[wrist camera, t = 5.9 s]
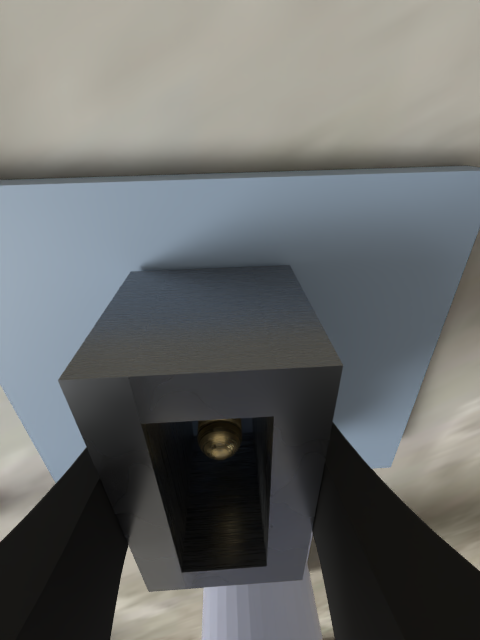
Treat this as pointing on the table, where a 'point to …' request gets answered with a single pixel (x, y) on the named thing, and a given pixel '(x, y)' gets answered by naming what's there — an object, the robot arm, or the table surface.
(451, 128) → the table surface
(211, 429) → the pin
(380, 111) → the table surface
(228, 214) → the keeper plate
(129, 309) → the grey slotted block
